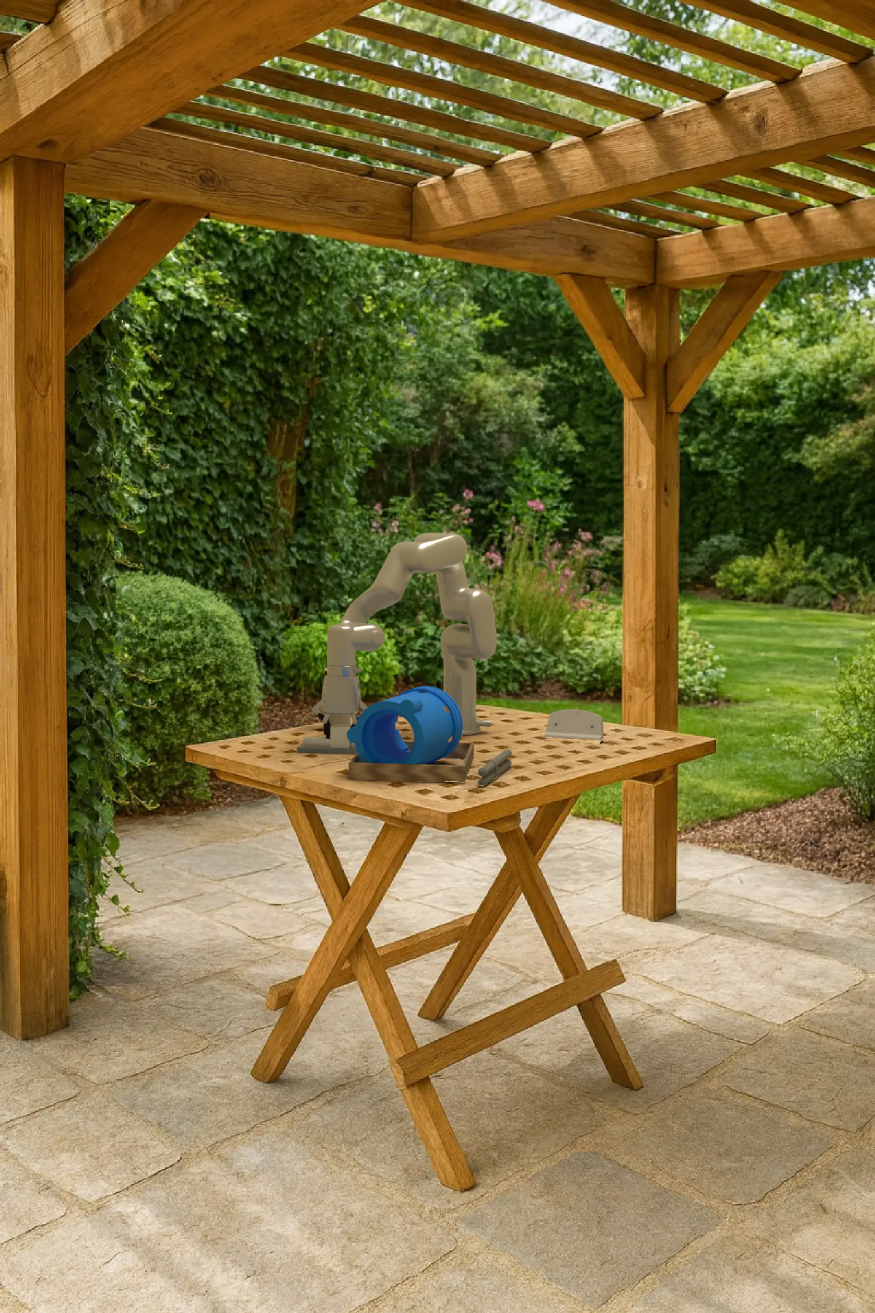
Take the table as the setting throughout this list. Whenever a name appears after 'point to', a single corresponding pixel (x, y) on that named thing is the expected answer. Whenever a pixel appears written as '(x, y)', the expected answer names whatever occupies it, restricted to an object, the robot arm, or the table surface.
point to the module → (340, 736)
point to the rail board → (323, 746)
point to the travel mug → (337, 717)
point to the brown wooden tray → (414, 768)
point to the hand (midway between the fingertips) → (340, 737)
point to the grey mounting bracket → (575, 725)
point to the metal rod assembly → (494, 767)
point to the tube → (426, 719)
